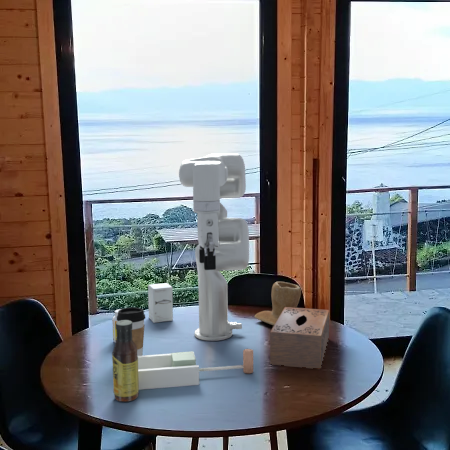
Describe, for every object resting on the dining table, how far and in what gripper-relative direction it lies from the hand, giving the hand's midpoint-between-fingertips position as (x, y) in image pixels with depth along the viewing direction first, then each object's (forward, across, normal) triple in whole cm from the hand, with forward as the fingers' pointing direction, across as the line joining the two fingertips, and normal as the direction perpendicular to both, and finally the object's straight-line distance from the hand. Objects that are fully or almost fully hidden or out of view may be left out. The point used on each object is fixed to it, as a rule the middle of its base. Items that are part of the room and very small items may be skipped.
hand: (207, 266), depth 164 cm
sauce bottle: (+28, -21, +24) cm, 43 cm away
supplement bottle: (+28, +22, +25) cm, 44 cm away
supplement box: (+28, +43, +11) cm, 53 cm away
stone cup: (+29, +29, -30) cm, 51 cm away
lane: (+28, -11, +14) cm, 33 cm away
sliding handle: (+28, -11, 0) cm, 30 cm away
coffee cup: (+28, +6, +22) cm, 36 cm away
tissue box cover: (+29, +2, -29) cm, 41 cm away
